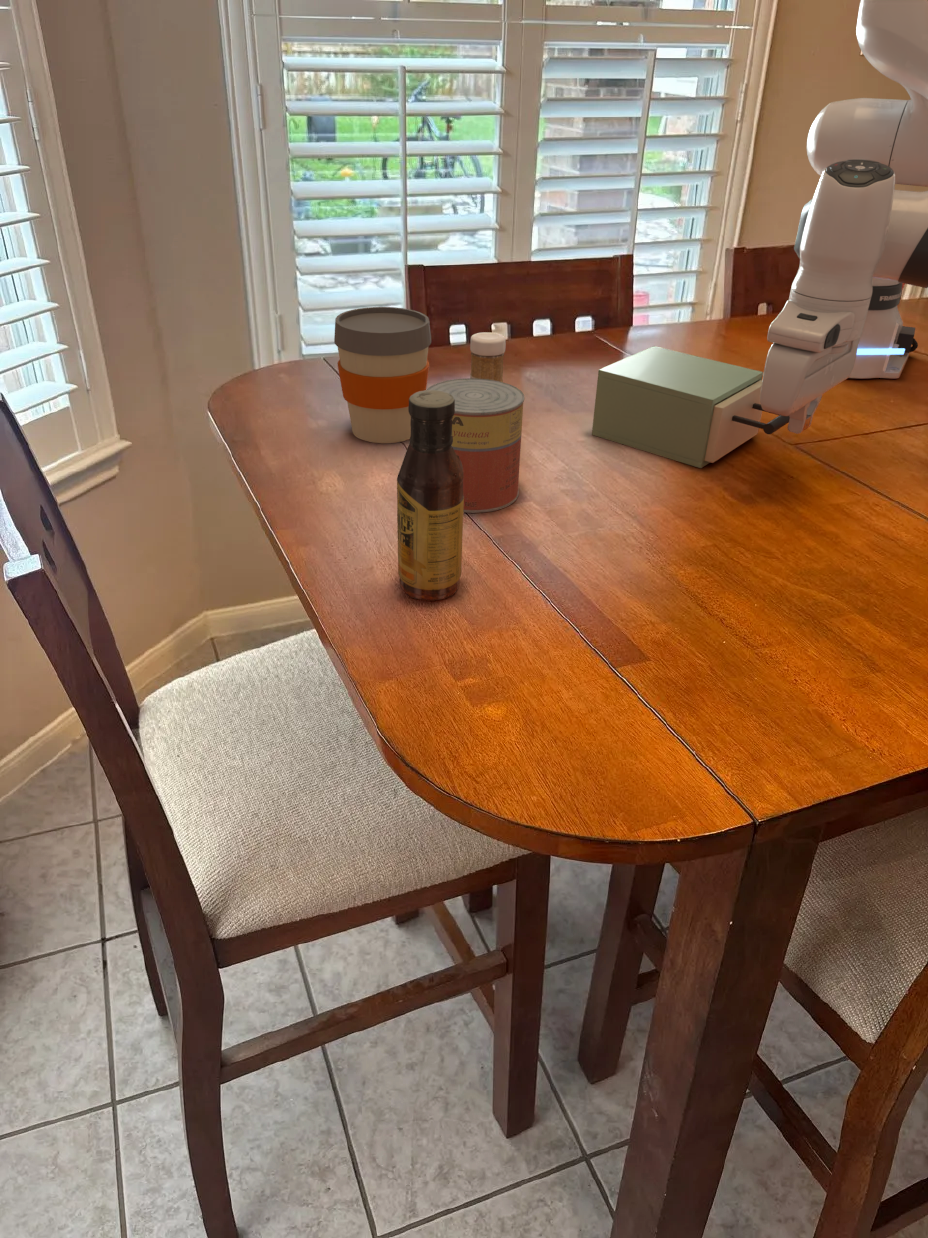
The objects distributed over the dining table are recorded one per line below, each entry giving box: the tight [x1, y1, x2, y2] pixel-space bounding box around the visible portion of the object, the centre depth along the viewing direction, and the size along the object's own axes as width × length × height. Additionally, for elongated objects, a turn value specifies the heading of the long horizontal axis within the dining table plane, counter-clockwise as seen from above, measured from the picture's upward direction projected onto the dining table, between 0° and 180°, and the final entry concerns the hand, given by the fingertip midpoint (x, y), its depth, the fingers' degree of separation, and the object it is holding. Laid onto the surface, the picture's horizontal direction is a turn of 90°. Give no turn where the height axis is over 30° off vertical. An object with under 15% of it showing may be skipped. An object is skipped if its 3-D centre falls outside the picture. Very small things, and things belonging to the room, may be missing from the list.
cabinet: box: [591, 345, 764, 469], centre depth 124 cm, size 17×15×9 cm
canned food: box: [426, 377, 525, 514], centre depth 107 cm, size 11×11×12 cm
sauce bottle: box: [396, 389, 464, 602], centre depth 86 cm, size 7×6×20 cm
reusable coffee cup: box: [333, 306, 432, 444], centre depth 121 cm, size 13×13×15 cm
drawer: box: [705, 379, 790, 464], centre depth 121 cm, size 21×13×7 cm, turn 50°
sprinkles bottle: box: [469, 331, 507, 382], centre depth 121 cm, size 5×5×13 cm
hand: (798, 429), depth 114 cm, fingers closed
